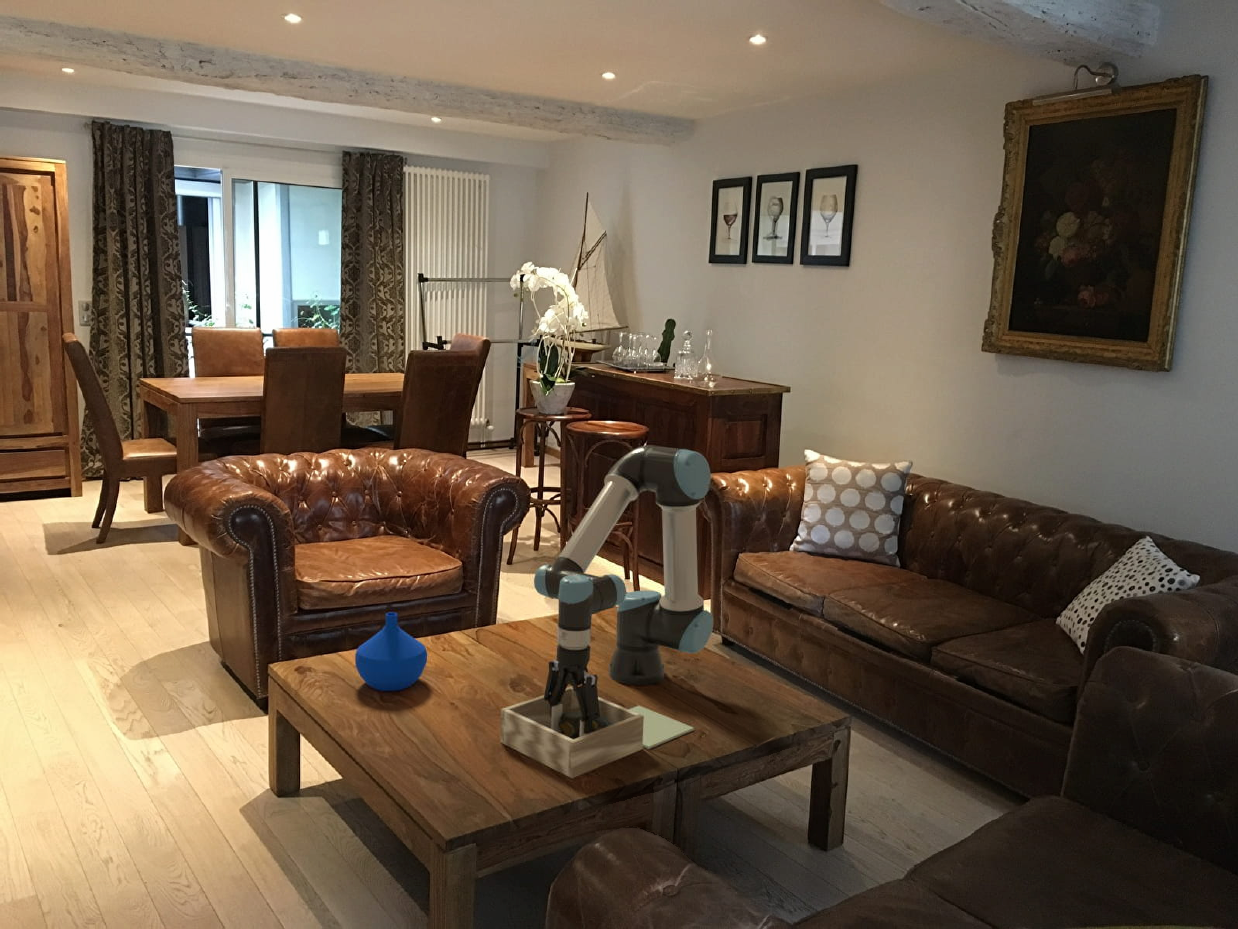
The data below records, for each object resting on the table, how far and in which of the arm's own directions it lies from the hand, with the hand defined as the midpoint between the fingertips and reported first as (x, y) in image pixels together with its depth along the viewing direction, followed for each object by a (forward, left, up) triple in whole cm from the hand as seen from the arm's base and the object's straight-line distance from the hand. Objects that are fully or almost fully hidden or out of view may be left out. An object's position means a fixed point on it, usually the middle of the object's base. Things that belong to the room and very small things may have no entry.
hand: (570, 739), depth 233 cm
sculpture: (+2, 0, -3) cm, 3 cm away
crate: (0, 0, -2) cm, 2 cm away
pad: (+4, +20, -2) cm, 21 cm away
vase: (-58, -10, -2) cm, 59 cm away
